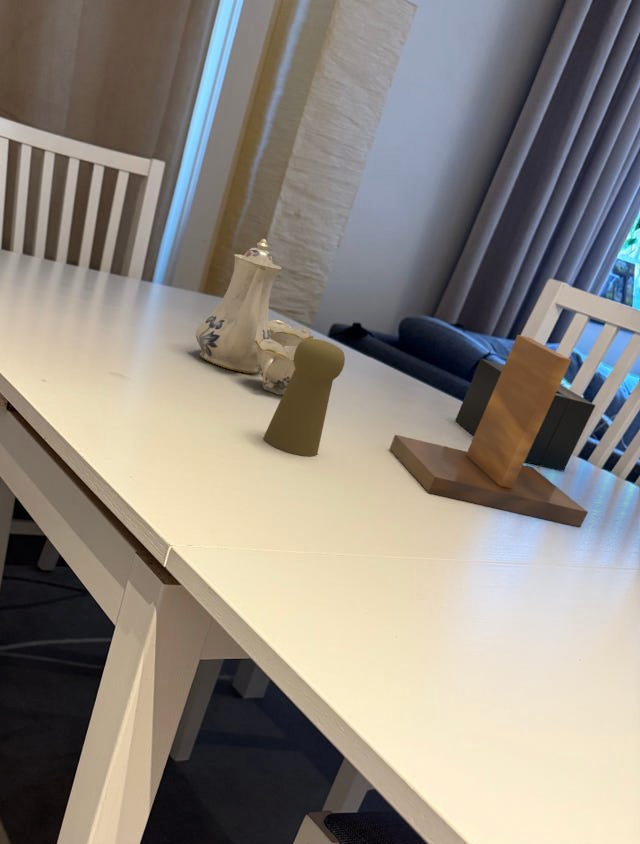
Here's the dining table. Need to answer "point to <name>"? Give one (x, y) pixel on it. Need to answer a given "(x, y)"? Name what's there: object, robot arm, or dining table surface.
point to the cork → (306, 398)
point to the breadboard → (484, 482)
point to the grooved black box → (557, 426)
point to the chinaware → (251, 325)
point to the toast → (517, 409)
